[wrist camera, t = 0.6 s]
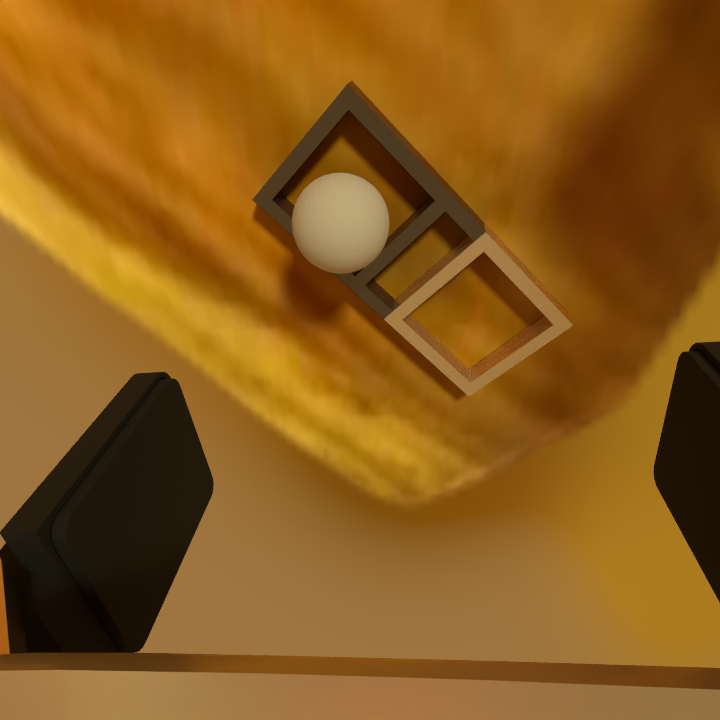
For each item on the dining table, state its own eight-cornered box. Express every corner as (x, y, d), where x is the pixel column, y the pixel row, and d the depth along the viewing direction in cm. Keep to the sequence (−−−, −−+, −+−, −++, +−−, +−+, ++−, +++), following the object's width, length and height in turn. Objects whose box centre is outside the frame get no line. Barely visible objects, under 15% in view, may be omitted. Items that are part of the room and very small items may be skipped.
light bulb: (390, 141, 35) (375, 180, 27) (402, 226, 38) (392, 284, 30) (307, 156, 36) (268, 197, 28) (325, 236, 39) (295, 295, 31)
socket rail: (351, 80, 33) (347, 84, 32) (567, 312, 40) (573, 325, 39) (260, 191, 38) (252, 199, 36) (467, 382, 45) (468, 396, 43)
